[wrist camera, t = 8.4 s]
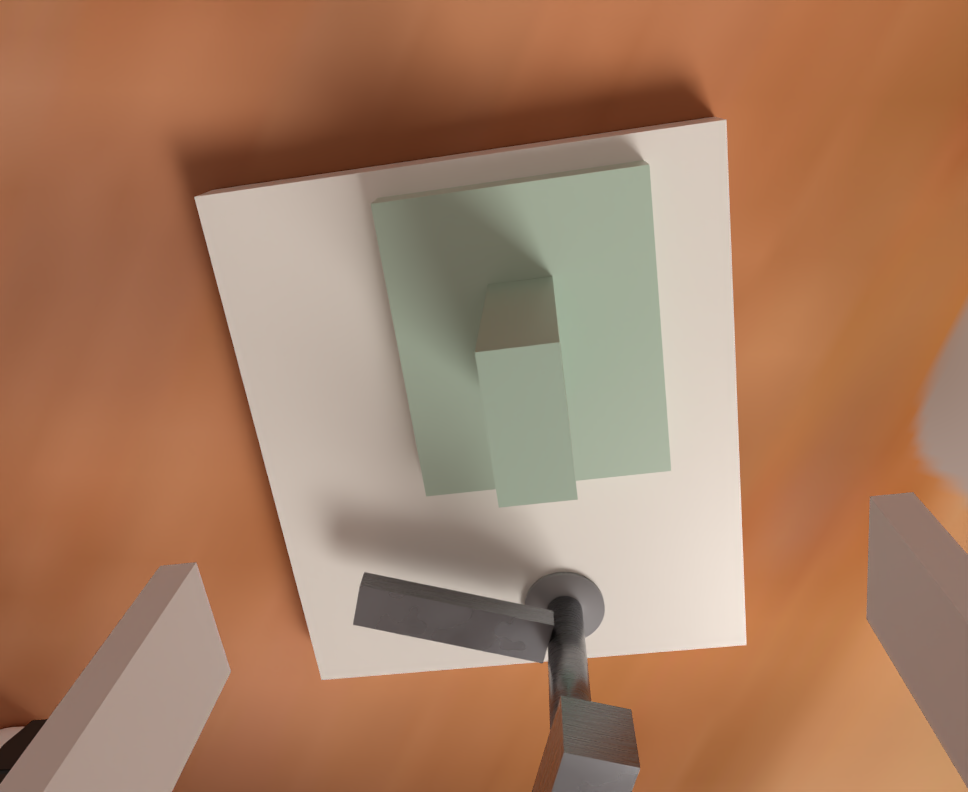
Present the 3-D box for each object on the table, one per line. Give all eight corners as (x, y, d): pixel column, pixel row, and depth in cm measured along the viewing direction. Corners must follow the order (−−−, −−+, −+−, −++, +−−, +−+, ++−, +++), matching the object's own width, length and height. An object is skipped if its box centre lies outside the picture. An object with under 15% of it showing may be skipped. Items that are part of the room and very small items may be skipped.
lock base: (736, 617, 40) (747, 649, 38) (331, 652, 42) (320, 684, 40) (714, 116, 32) (727, 119, 30) (212, 190, 34) (191, 197, 32)
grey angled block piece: (607, 560, 36) (640, 767, 26) (574, 668, 39) (591, 902, 28) (377, 512, 36) (312, 702, 25) (357, 624, 38) (289, 842, 27)
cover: (665, 454, 35) (711, 585, 26) (430, 479, 36) (397, 614, 27) (644, 160, 31) (689, 196, 22) (377, 198, 32) (317, 247, 23)
